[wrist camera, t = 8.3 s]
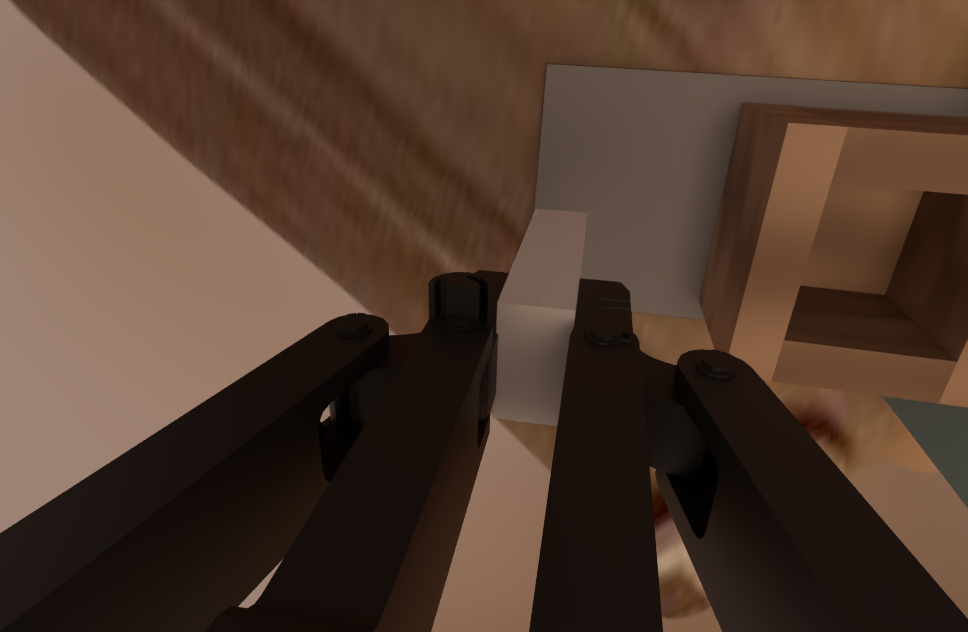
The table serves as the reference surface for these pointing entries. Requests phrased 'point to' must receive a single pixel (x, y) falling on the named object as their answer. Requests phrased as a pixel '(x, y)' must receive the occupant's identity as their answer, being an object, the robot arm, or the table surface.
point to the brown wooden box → (845, 251)
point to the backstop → (694, 187)
